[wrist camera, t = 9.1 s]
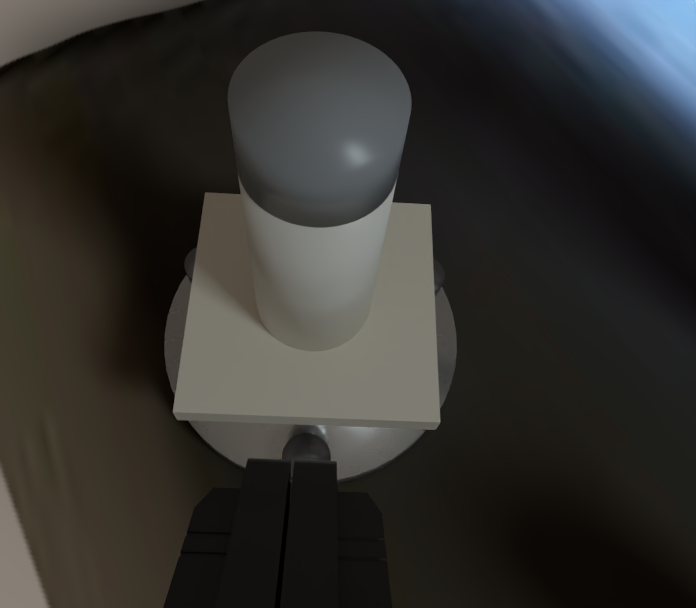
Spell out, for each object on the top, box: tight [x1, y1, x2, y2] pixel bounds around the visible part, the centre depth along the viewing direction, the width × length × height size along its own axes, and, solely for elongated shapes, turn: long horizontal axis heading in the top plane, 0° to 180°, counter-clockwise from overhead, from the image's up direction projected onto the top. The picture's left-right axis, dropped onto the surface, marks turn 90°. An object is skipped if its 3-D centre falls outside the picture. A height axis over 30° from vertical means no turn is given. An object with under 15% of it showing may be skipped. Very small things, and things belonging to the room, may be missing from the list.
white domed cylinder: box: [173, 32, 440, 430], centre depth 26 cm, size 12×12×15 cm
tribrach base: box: [164, 247, 457, 486], centre depth 35 cm, size 16×16×4 cm
